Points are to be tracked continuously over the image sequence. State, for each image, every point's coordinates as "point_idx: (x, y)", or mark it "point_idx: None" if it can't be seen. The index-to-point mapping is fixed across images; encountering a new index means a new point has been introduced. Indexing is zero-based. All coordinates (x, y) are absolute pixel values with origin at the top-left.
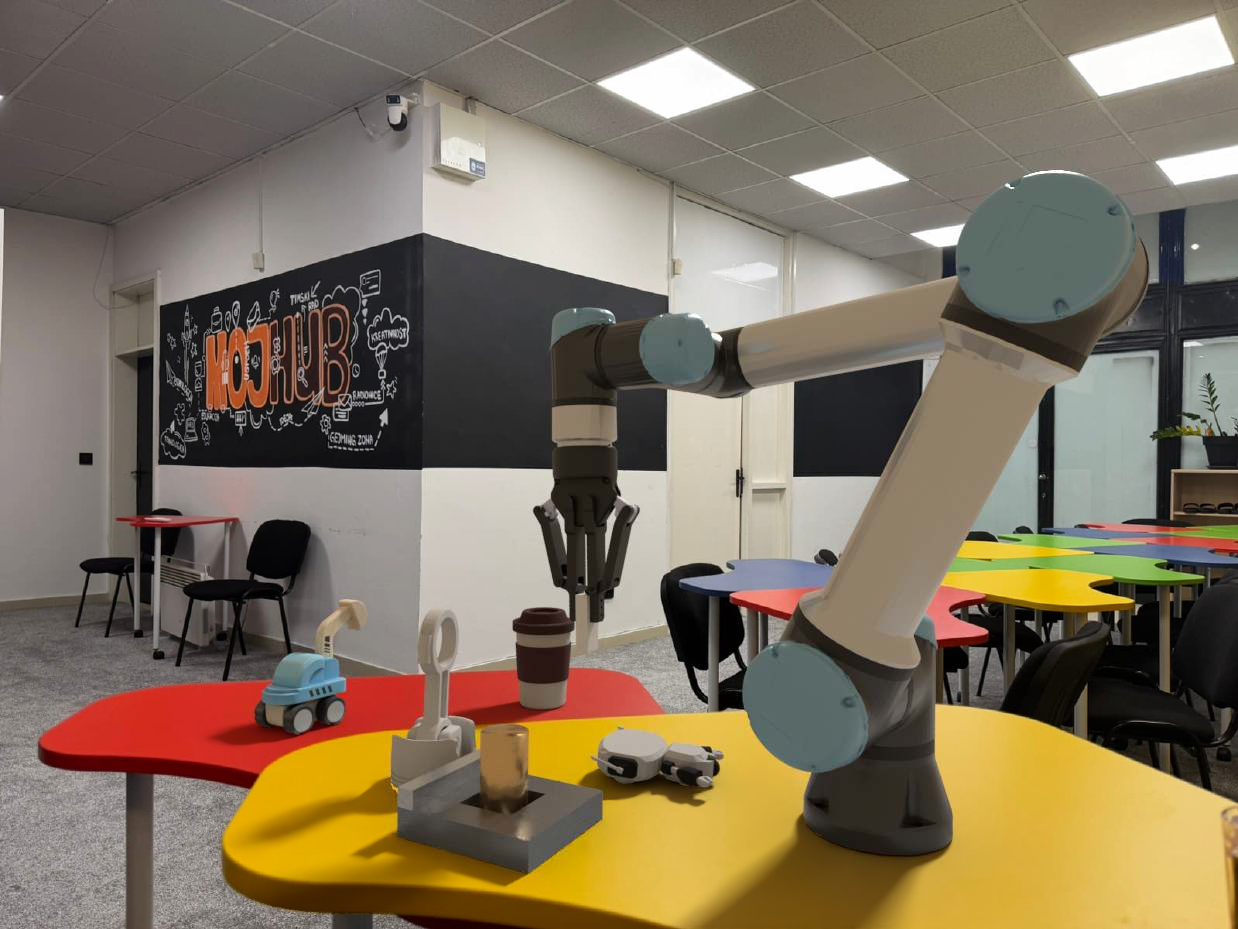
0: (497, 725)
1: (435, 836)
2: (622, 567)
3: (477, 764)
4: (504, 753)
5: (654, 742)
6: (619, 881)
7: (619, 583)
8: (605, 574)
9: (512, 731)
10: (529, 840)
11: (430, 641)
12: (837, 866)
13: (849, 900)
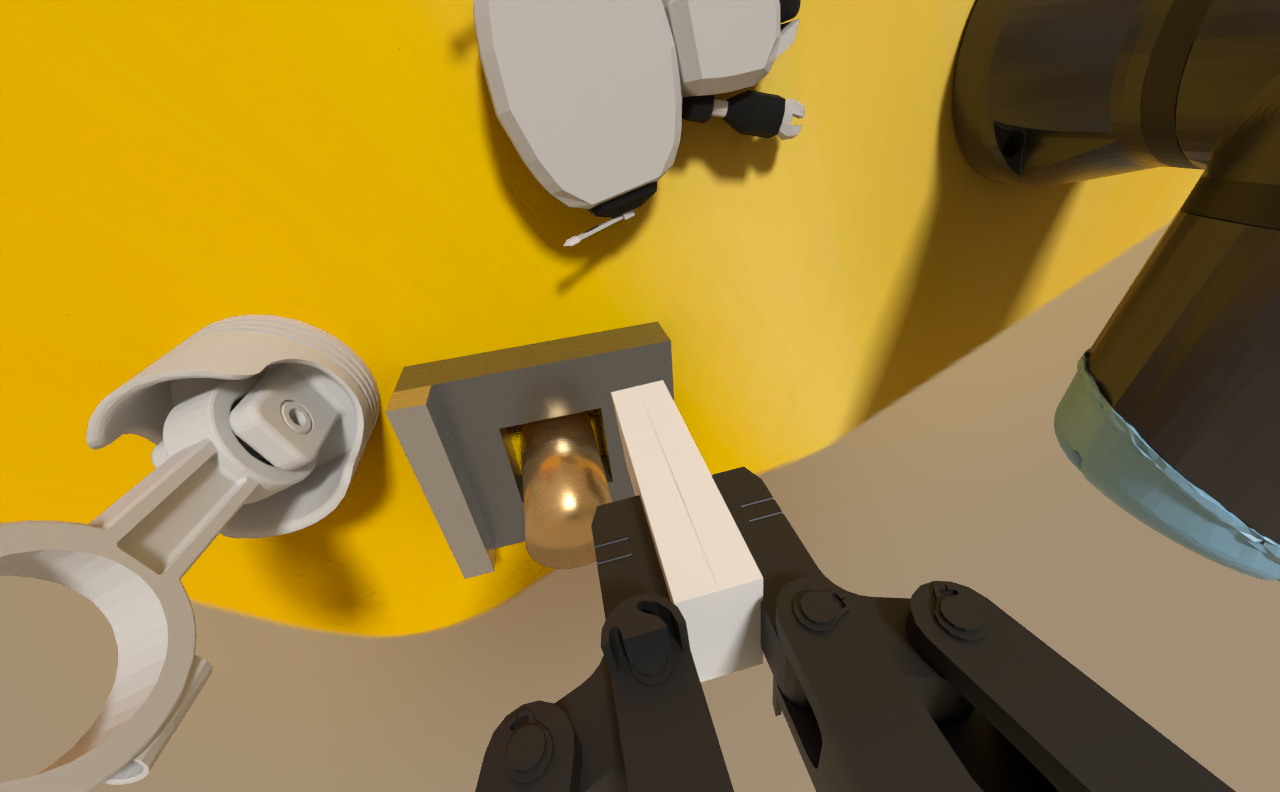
0: (535, 530)
1: None
2: (1149, 739)
3: (448, 450)
4: None
5: (635, 28)
6: (759, 429)
7: (985, 604)
8: (972, 774)
9: (586, 530)
10: None
11: (159, 737)
12: (983, 242)
13: (986, 312)
